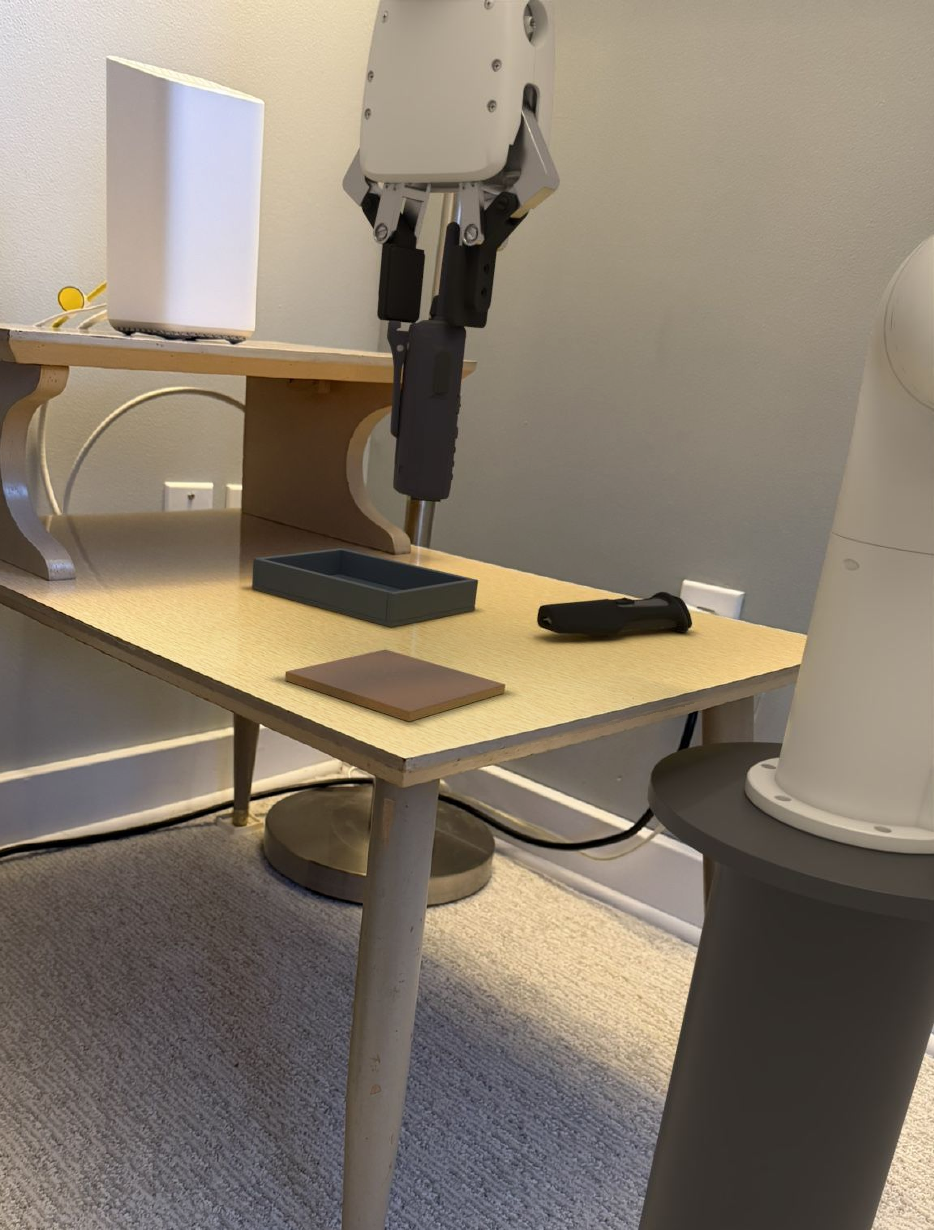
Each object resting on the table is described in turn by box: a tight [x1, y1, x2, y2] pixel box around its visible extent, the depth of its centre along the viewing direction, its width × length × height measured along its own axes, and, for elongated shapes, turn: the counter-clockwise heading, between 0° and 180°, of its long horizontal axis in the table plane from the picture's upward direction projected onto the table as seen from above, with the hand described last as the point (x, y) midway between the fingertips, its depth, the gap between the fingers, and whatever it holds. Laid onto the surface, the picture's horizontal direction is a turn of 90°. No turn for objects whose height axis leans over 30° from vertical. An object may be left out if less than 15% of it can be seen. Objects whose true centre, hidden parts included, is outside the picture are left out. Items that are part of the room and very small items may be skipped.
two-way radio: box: [386, 221, 467, 503], centre depth 67 cm, size 6×4×15 cm
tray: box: [251, 547, 479, 628], centre depth 97 cm, size 15×11×3 cm
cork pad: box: [284, 648, 506, 722], centre depth 74 cm, size 10×10×1 cm
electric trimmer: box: [536, 591, 693, 637], centre depth 92 cm, size 4×16×3 cm, turn 123°
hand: (431, 320), depth 66 cm, fingers closed on two-way radio, 4 cm apart
